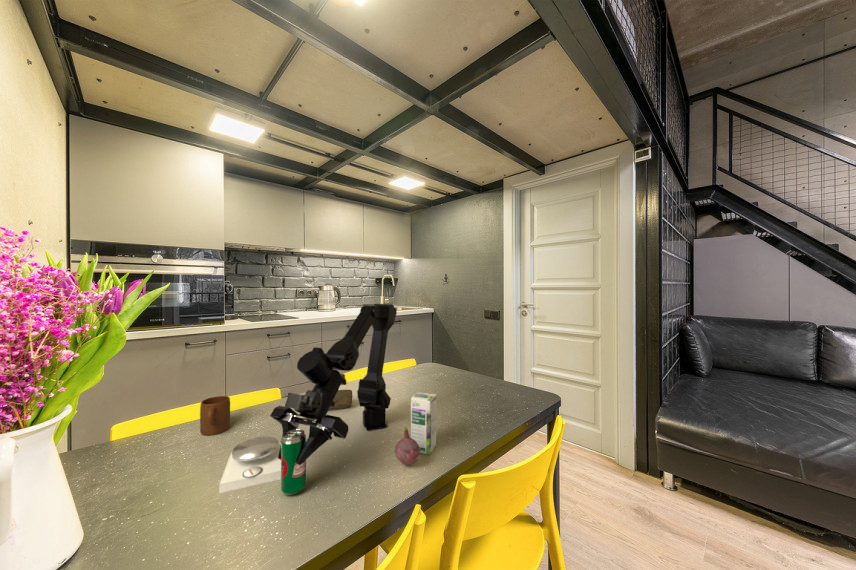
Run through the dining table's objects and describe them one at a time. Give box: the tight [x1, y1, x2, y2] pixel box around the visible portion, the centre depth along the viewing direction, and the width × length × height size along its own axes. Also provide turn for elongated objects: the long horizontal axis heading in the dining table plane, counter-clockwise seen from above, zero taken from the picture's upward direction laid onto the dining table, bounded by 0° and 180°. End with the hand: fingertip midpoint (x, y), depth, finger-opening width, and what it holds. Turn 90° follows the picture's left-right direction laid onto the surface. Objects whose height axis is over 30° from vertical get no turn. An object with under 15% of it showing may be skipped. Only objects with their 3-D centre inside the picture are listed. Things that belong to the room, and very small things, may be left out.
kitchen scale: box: [218, 442, 281, 494], centre depth 74 cm, size 12×14×2 cm
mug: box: [199, 395, 231, 436], centre depth 92 cm, size 12×8×9 cm, turn 25°
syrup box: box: [410, 391, 437, 456], centre depth 84 cm, size 6×6×14 cm
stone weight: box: [328, 389, 353, 411], centre depth 111 cm, size 15×7×7 cm, turn 109°
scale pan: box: [231, 436, 279, 461], centre depth 75 cm, size 10×10×2 cm
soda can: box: [280, 428, 307, 496], centre depth 66 cm, size 5×5×12 cm
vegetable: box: [394, 425, 420, 467], centre depth 76 cm, size 6×6×10 cm
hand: (288, 461), depth 65 cm, fingers closed on soda can, 5 cm apart
